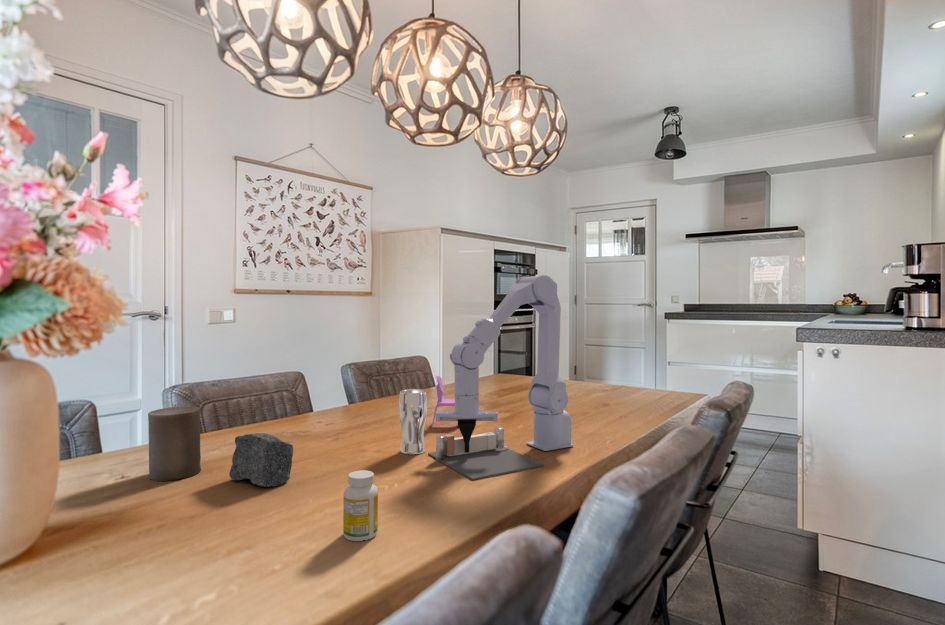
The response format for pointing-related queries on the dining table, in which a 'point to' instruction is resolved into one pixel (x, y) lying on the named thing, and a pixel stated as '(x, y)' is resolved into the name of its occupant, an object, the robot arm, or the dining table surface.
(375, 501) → the supplement bottle
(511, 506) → the dining table surface
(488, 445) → the gate
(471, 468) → the mat
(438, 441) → the post
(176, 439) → the pillar candle
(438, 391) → the toy chair
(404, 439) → the beer glass
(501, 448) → the post
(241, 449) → the stone
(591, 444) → the dining table surface
